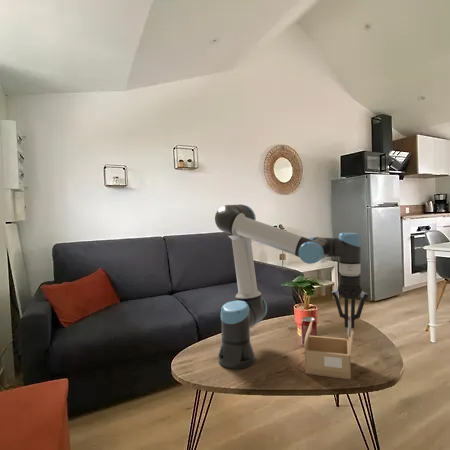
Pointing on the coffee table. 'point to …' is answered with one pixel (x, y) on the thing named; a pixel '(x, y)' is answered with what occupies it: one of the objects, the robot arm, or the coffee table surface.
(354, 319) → the robot arm
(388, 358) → the coffee table surface
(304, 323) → the soda can
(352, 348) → the flap
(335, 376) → the carton
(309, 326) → the flap
